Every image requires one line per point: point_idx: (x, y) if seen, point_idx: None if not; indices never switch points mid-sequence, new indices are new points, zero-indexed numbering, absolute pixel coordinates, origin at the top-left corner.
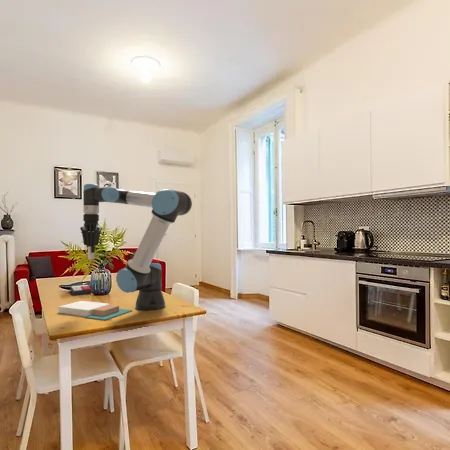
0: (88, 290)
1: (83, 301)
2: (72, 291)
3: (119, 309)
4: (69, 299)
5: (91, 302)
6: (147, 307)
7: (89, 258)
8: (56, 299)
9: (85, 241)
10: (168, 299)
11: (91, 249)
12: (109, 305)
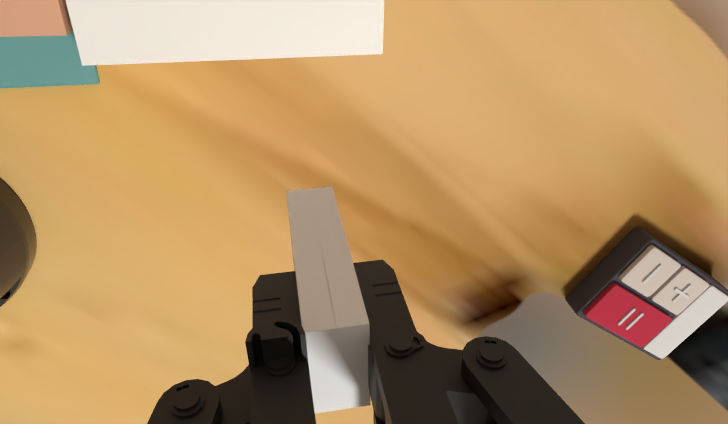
0: (588, 298)
1: (347, 40)
2: (672, 251)
3: (9, 66)
4: (592, 148)
5: (262, 40)
6: None
7: (299, 194)
8: (672, 114)
9: (501, 416)
10: (18, 390)
11: (288, 311)
12: (32, 19)
